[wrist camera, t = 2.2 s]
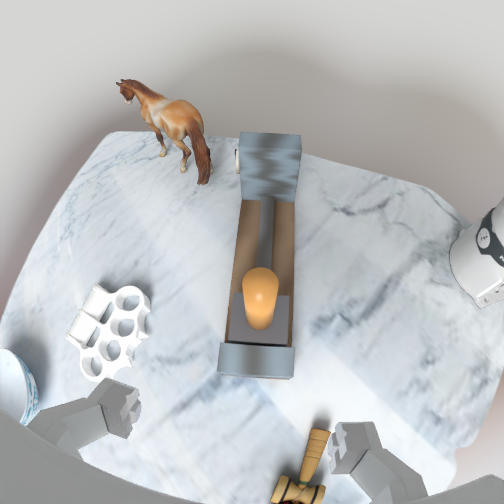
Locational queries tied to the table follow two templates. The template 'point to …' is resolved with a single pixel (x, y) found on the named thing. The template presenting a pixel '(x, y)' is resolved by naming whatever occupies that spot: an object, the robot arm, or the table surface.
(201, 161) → the horse figurine
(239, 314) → the carriage
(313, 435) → the kendama
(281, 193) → the walnut rail
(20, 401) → the chinaware
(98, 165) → the table surface
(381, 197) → the table surface
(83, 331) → the white brass knuckles
